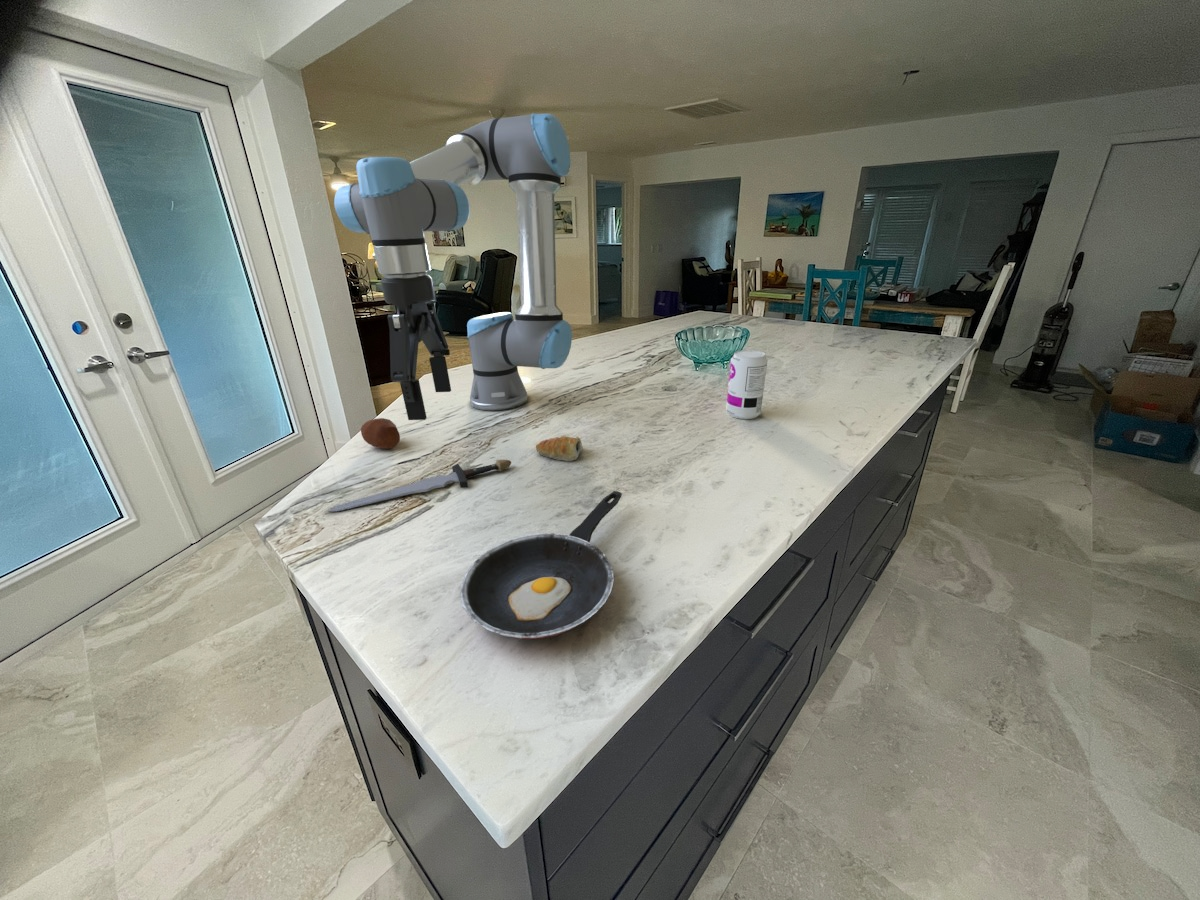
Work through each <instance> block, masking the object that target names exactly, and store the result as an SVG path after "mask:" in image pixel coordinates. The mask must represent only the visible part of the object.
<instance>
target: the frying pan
mask: <svg viewBox="0 0 1200 900" xmlns="http://www.w3.org/2000/svg"><path fill="white" fill-rule="evenodd" d="M622 495H623V493H622V492H621V491H617V490H613V491H612V492H610V493H608V494H607V495H606V496H605V497H603V498H602V499H601V500H600V502H598V504H597V505H596V506H595V507H594V508H593V510H591V512H590V513H589V514H587V516H586V517H585V518H584V519H583V521H581V523H580V524H579V525H578V526H576V527H575V528H574V529H573V530H572V531H571V532H570V533H569V534H563V533H554V532H550V533H549V532H545V533H544V532H543V533H532V534H527V535H521V536H518V537H514V538H511V539H508V540H506V541H504V542H501V543H499V544H497V545H495V546H493V547H491V548H489V550H486V552H484V553H482V554H481V555H480V556H479V557H478V558H477V559H476V560H475V561H474V562H473V563H471V565H470V566H469V568H468V569H467V571H466V572H465V574H464V576H463V579H462V581H461V584H460V594H459V595H460V601H461V605H462V607H463V609H464V610H465V612H466V614H467V616H468V617H469V618H470V619H471V620H472V621H473V622H475V624H476V625H478V626H480V627H482V628H484V629H486V630H487V631H489V632H491V633H494V634H497V635H500V636H503V637H508V638H514V639H521V640H539V639H545V638H546V639H547V638H551V637H554V636H555V637H556V636H558V635H561V634H564V633H567V632H568V631H570V630H572V629H574V628H576V627H578V626H580V625H581V624H583V623H585V622H586V621H587V620H588V619H591V617H593V616H595V614H597V612H598V611H600V609H601V608H602V607H603V605H604V604H605V603H606V601H607V600H608V598H609V596H610V595H611V593H612V589H613V585H614V580H615V579H614V569H613V566H612V563H611V561H610V559H609V558H608V557H607V555H606V554H605V553H604V552H603V551H602V550H601V549H600V548H599V547H598V546H596V545H595V544H593V543H592V542H591V539H592V536H593V534H594V531H596V529H597V527H598V526H599V525H600V523H601V521H602V520H603V519H604V518H605V517H606V516H607V515H608V514H609V513H611V511H612V510H613V509H614V508H615V507H616V506H617V505H618V503H619V502H620V501H621V500H620V499H621V498H622Z"/></svg>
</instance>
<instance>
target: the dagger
mask: <svg viewBox="0 0 1200 900" xmlns="http://www.w3.org/2000/svg"><path fill="white" fill-rule="evenodd" d="M511 465H512V461H511V460H510V459H496V460H495V462H494V463H492V464H489V465H483V466H479V467H475V468H468V469H464V470H463V468H462V467H461V466H460V464H459V463H456V464H454V465H452V466H451V470H452V473H450V474H447V475H445V474H444V475H442V474H438V475H435V476H433V477H428V478H427V477H426V478H422V479H420V480H417V481H415V482H412V483H409V484H406V485H403V486H399V487H396V488H391V489H388V490H385V491H382V492H379V493H375V494H372V495H369V496H368V495H367V496H364V497H362V498H357V499H355V500H352V501H348V502H345V503H341V504H339V505H336V506H333V507H331V508H329V509H328V510H327V511H328V512H332V513H333V512H340V511H344V510H350V509H353V508H358V507H361V506H366V505H370V504H374V503H379V502H383V501H388V500H392V499H396V498H400V497H403V496H404V497H405V496H409V495H414V494H419V493H427V492H430V491H432V490H434V489H439V488H444V487H446V486H447V485H449V484H450V483H459V488H461V489H464V488H467V489H468V488H469V484H468V483H469V482H468V479H471V478H474V477H477V476H479V475H483V474H485V473H488V472H492V471H495V470H496V471H498V472H500V473H501V472H502V471H505V470H506V469H507V468H509V467H510V466H511Z"/></svg>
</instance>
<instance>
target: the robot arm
mask: <svg viewBox="0 0 1200 900" xmlns="http://www.w3.org/2000/svg"><path fill="white" fill-rule="evenodd" d="M568 141H569V140H568V138H567V134H566V132H565V130H564V127H563V125H562V123H561V121H560V120H559V118H557V117H556V116H555V115H554V114H552V113H537V112H533V113H531V114H524V115H516V116H507V117H499V118H496V117H494V118H490V119H485V120H484V121H481V122H479V123H477V124H475V125H473V126H470V127H468V128H466V129H464V130H461V131H460V132H458V133H456V134H454V135H452V136H450V137H449V138H448V139H447V141H446V143H445V145H444V146H442V147H440V148H438V149H436V150H434V151H432V152H429V153H427V154H425V155H423V156H421V157H418V158H416V159H414V160H412V161H409V160H407V159H405V158H402V157H394V156H371V157H363V158H361V159H359V160H357V162H356V164H355V165H356V166H355V167H356V169H355V170H356V175H357V183H354V182H353V183H350V184H348V185H343V186H341V187H339V188H338V189H337V190H336V192H335V195H334V198H333V199H334V200H333V204H334V209H335V213H336V215H337V217H338V219H339V221H340V222H341V224H342V225H343V227H345V228H346V229H347V230H349V231H351V232H353V233H357V234H359V233H360V234H367V235H370V239H371V244H372V249H373V252H372V258H373V259H374V260H375V263H376V266H377V271H378V274H380V275H382V276H383V277H382V278H381V280H380V285H381V290H382V293H383V294H382V295H383V299H384V301H385V303H386V304H388V305H394V306H395V307H396V314H395V313H394V314H388V315H387V322H388V323H387V324H388V329H389V353H390V354H389V357H390V380H391V382H392V383H399V384H400V389H401V393H402V397H403V398H402V399H403V403H404V407H405V411H406V416H407V419H408V421H426V420H427V418H428V417H427V412H426V407H425V402H424V398H423V393H422V388H421V384H420V380H419V379H417V378H416V377H417V366H418V354H419V353H418V351H419V343H421V342H422V343H423V345H424V346H425V348H426V349H427V351H428V352H429V354H430V357H429V358H428V359H429V365H430V370H431V375H432V380H433V385H434V390H435V393H450V392H452V388H451V387H452V386H451V382H450V375H449V370H448V364H447V359H446V356H450V355H451V354H450V353H451V351H450V349H449V345H448V342H447V338H446V337H445V334H444V331H443V328H442V326H441V322H440V320H439V318H438V314H437V312H436V307H435V303H434V301H433V300H435V298H436V294H435V289H434V283H433V278H432V277H431V275H429V274H428V273H429V272H430V271H431V270H432V269H431V264H430V259H429V254H428V248H427V243H426V239H425V233H424V232H452V231H455V230H456V231H457V230H459V229H462V228H463V227H464V226H465V225H466V224H467V222H468V220H469V218H470V211H471V209H470V202H469V199H468V196H467V194H466V192H465V191H464V189H463V188H462V187H463V186H465V185H467V186H475V185H477V184H479V183H480V182H485V181H500V180H501V181H502V180H507V181H508V186H509V189H511V190H512V192H514V194H515V201H516V223H517V224H516V226H517V248H518V267H519V268H518V270H519V272H518V273H519V290H520V306H519V307H518V309H516V310H515V312H514V316H513V313H511V312H510V311H502V312H495V313H490V314H482V315H480V316H476V317H473V318H470V319H469V320H468V321H467V324H466V327H467V328H466V329H467V330H466V331H467V336H466V337H467V339H468V346H469V353H470V360H471V367H472V371H473V372H472V373H473V379H472V384H471V389H470V395H469V400H470V405H471V407H472V408H474V409H476V410H480V411H481V410H482V411H492V412H493V411H505V410H510V409H514V408H517V407H520V406H522V405H524V404H525V403H526V402H528V391H527V389H526V387H525V385H524V382H523V380H522V378H521V376H520V373H519V370H518V367H523V368H524V367H525V368H537V369H538V368H539V369H542V370H545V369H558V368H560V367H562V366H563V365H564V364H565V362H566V361H567V359H568V357H569V354H570V351H571V349H572V348H571V347H572V343H573V342H572V341H573V331H572V326H571V325H570V323H569V322H568V321H566V320H564V317H563V315H564V314H563V311H562V310H561V308H559V307H558V305H557V269H556V267H557V266H556V265H557V263H556V217H555V216H556V214H555V197H556V194H557V193H558V192H559V191H560V190H561V187H562V179H561V178H564V177H565V176H568V174H569V172H570V168H571V152H570V145H569V142H568Z"/></svg>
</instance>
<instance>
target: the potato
mask: <svg viewBox="0 0 1200 900" xmlns="http://www.w3.org/2000/svg"><path fill="white" fill-rule="evenodd" d="M360 434H361V438H362V439H363V441H364V442H366V443H367V444H369V445H370V446H372V447H375V448H378V449H381V450H389V449H392V448H394V447H396V446H398V444H399V443H400V441H401V435H400V432H399V430H398V427H397V425H396V424H395V423H394V422H393V421H392V420H391V419H388V418H384V417H378V418H373V419H370V420H367V421H366V422H363V424H362V425H361V428H360Z"/></svg>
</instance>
